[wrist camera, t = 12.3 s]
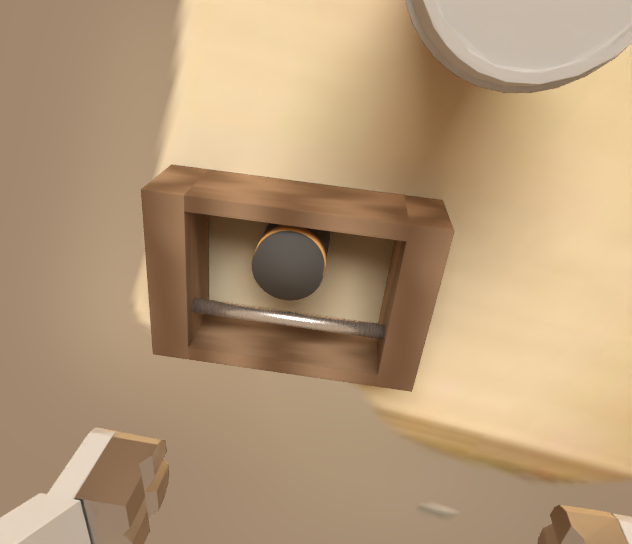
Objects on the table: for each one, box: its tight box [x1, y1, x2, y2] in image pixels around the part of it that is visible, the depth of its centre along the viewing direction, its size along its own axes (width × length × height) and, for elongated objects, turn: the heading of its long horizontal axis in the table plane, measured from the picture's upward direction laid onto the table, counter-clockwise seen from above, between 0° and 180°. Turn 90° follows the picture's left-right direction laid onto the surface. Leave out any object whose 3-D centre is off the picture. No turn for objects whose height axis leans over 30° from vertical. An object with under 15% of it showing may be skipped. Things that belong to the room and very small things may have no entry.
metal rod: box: [192, 298, 385, 339], centre depth 33 cm, size 15×1×1 cm, turn 84°
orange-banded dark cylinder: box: [252, 223, 330, 300], centre depth 32 cm, size 4×4×5 cm
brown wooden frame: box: [141, 165, 454, 391], centre depth 33 cm, size 18×12×5 cm, turn 84°
